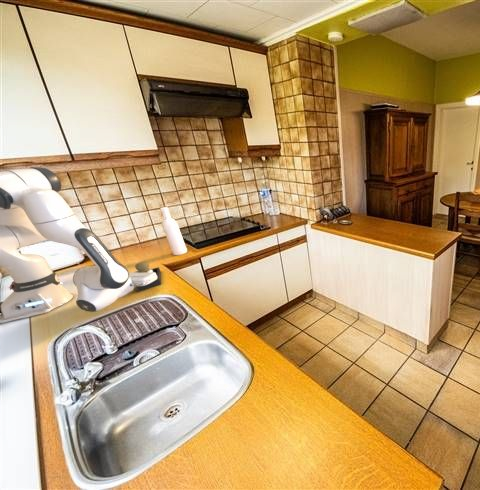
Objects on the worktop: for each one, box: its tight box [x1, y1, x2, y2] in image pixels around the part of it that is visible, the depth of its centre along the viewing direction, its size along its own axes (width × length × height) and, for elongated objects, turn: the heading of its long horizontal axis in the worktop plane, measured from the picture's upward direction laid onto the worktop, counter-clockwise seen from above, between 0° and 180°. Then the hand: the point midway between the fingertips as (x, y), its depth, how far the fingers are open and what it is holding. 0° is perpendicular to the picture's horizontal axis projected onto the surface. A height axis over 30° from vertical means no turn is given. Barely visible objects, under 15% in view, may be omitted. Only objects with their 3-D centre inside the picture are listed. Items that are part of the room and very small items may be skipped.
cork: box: [134, 261, 151, 273], centre depth 132 cm, size 6×6×11 cm
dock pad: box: [135, 266, 162, 292], centre depth 137 cm, size 9×18×3 cm, turn 36°
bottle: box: [159, 206, 188, 256], centre depth 165 cm, size 8×8×30 cm
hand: (146, 271), depth 132 cm, fingers closed on cork, 4 cm apart
